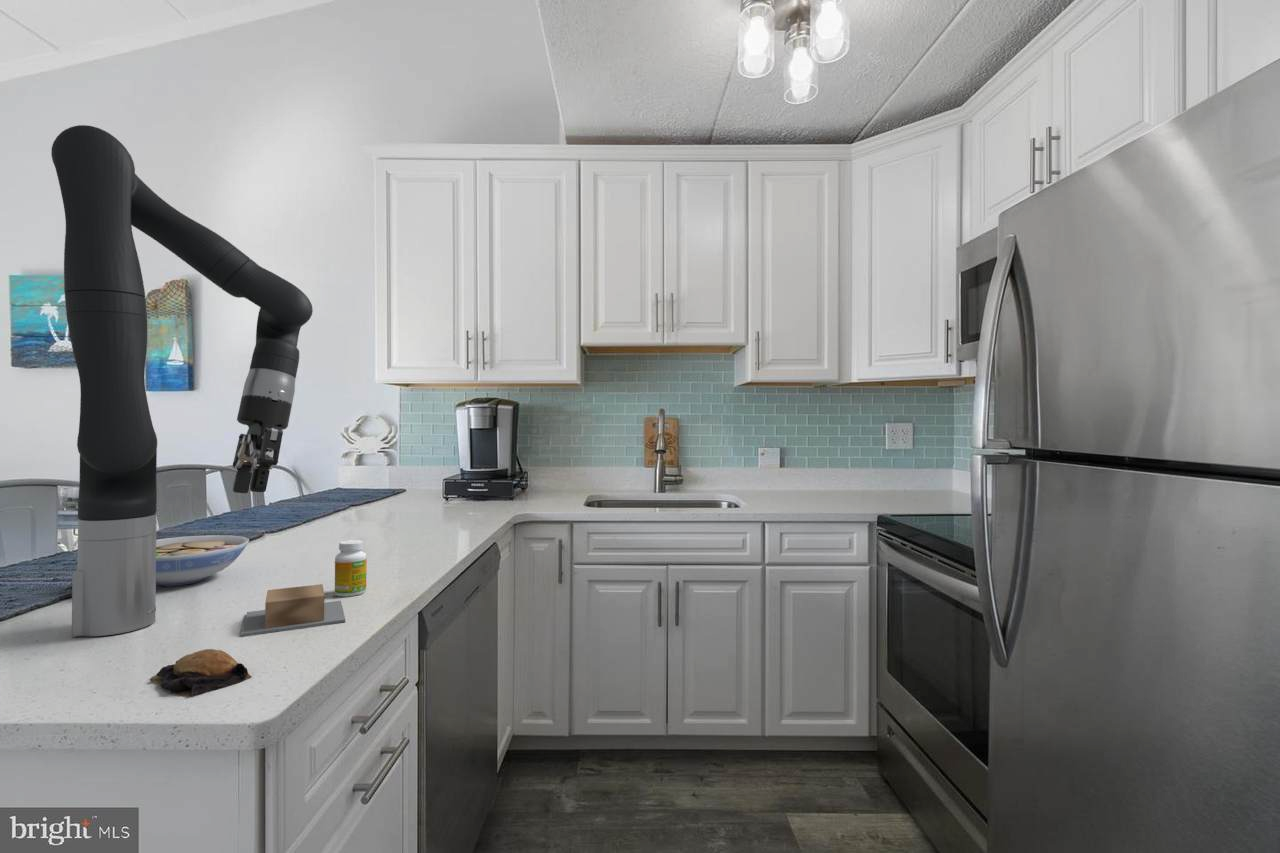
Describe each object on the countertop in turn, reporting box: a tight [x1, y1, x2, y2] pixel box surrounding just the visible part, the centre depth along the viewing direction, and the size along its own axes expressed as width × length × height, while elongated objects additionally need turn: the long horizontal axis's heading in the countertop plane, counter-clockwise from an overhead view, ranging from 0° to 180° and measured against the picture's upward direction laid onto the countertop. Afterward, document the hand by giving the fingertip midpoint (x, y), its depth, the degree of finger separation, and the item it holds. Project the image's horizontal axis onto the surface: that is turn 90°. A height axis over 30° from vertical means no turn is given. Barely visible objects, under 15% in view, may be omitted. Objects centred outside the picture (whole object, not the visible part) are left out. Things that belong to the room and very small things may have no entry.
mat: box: [240, 600, 346, 637], centre depth 98 cm, size 14×12×1 cm
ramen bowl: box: [156, 534, 250, 587], centre depth 120 cm, size 25×23×8 cm
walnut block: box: [264, 583, 325, 629], centre depth 97 cm, size 8×8×4 cm
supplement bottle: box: [334, 539, 368, 598], centre depth 113 cm, size 5×5×10 cm
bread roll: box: [150, 648, 253, 698], centre depth 75 cm, size 11×8×4 cm
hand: (248, 492), depth 100 cm, fingers open, 8 cm apart
